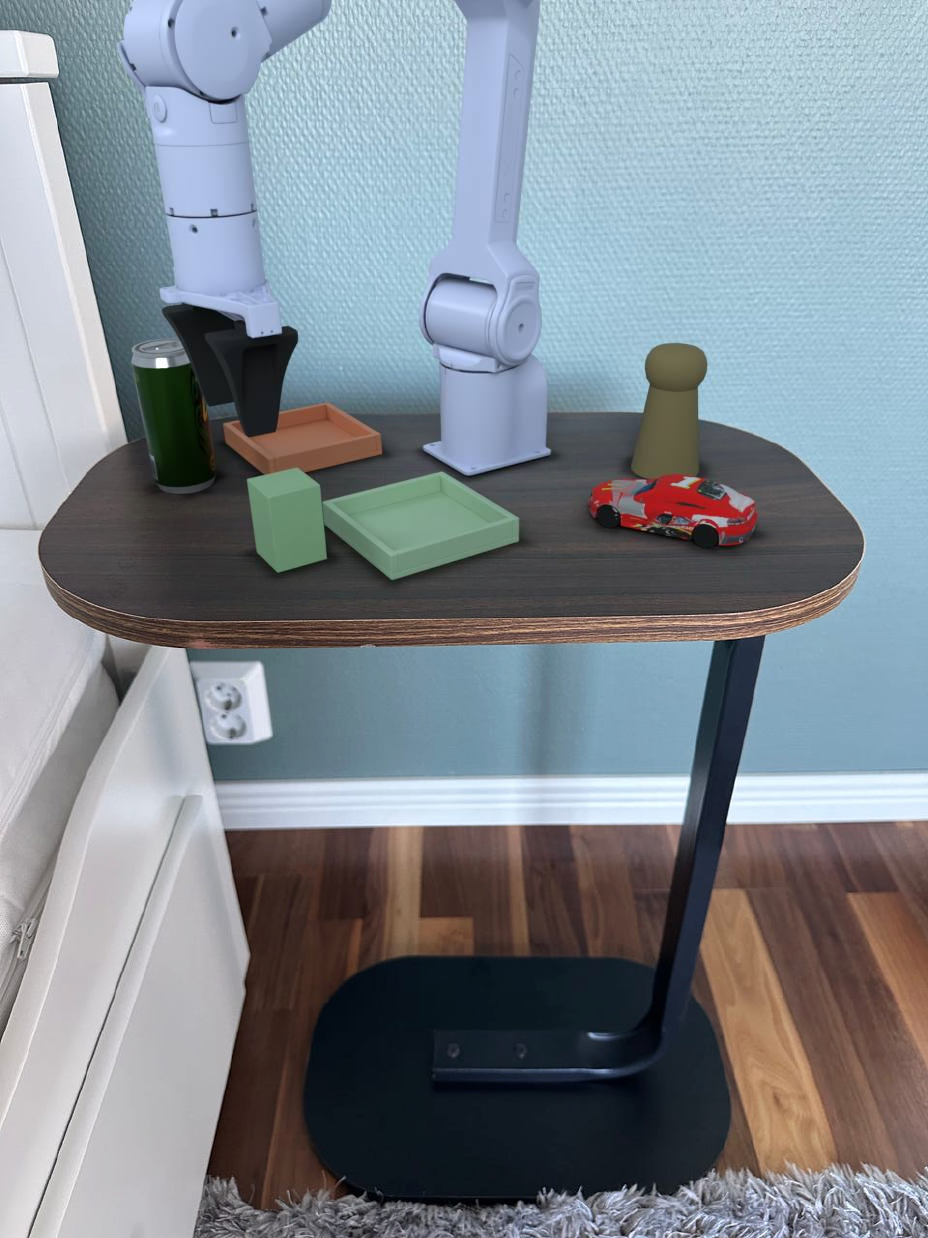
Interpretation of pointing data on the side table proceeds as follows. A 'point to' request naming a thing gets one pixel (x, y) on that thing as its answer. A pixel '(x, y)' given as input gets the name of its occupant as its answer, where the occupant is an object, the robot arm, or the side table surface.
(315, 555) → the sage block
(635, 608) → the side table surface
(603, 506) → the race car
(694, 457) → the olive pawn piece
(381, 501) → the sage tray
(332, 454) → the terracotta tray
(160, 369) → the beer can
